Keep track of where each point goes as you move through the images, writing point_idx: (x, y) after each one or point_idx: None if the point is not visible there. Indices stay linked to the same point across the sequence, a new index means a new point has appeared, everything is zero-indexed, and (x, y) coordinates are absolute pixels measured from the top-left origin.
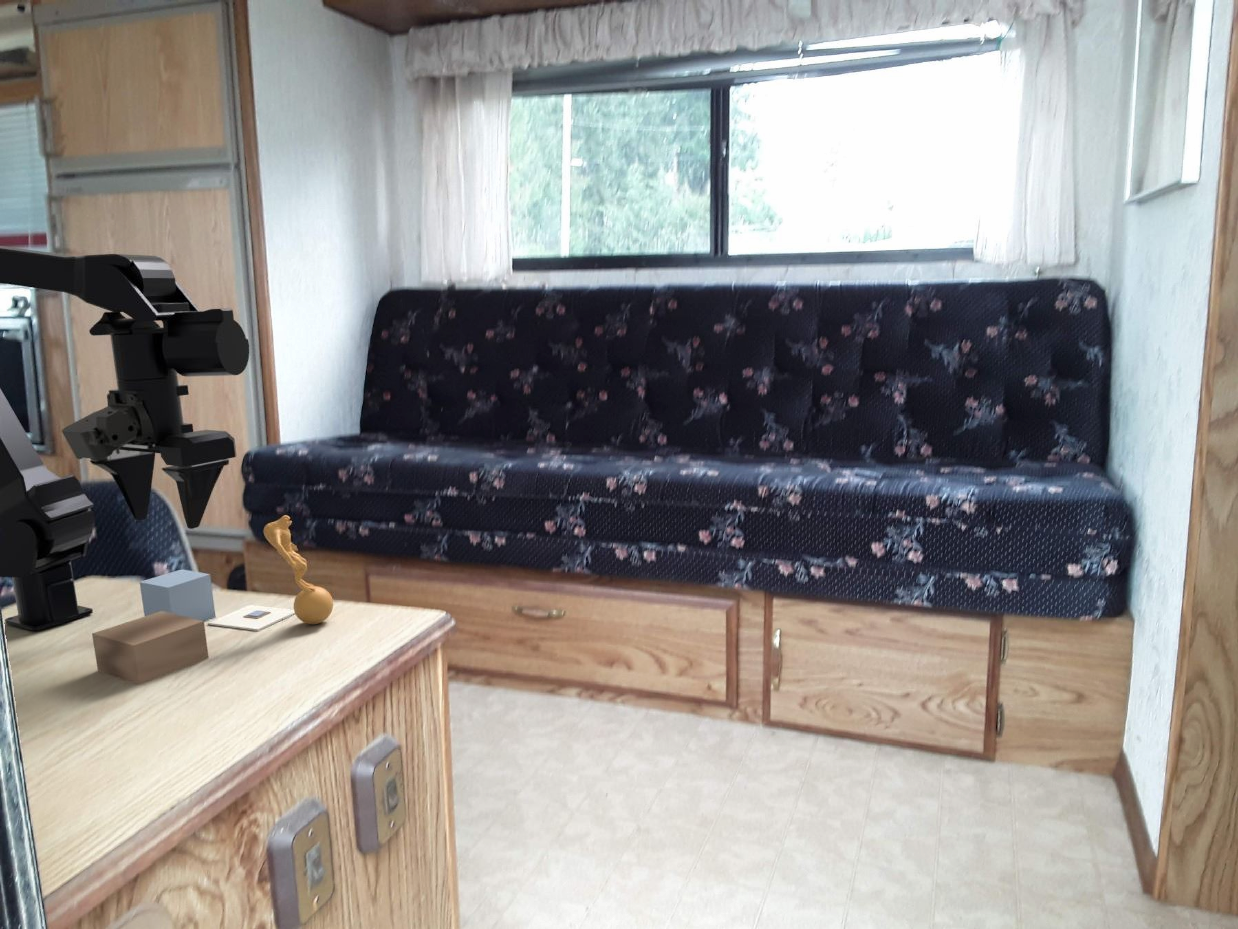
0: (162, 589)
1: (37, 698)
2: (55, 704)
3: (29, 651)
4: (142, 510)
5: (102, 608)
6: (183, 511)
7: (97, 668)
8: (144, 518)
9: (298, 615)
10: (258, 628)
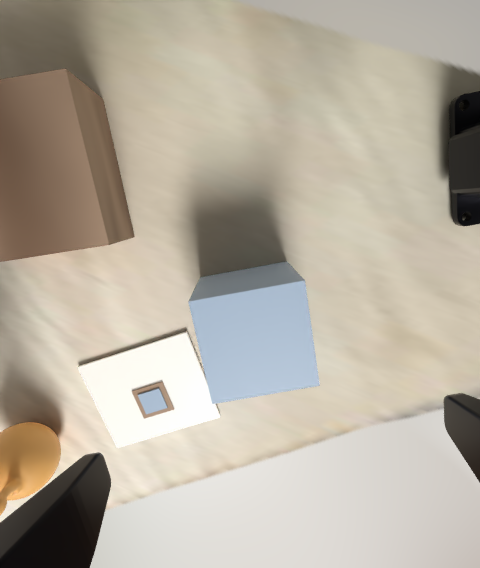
0: (211, 295)
1: None
2: None
3: (340, 49)
4: (471, 446)
5: (475, 251)
6: (45, 507)
7: (100, 97)
8: (447, 423)
9: (20, 424)
10: (81, 369)
